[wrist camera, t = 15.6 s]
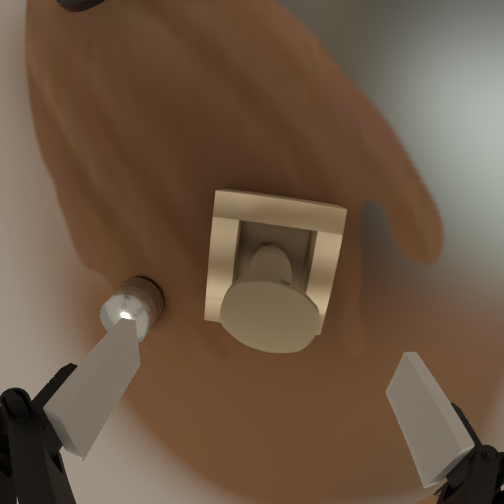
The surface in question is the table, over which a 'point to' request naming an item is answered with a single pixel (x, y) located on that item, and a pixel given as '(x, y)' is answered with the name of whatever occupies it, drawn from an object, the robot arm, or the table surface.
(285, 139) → the table surface
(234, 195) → the socket block
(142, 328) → the round plug
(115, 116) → the table surface
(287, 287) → the handle
